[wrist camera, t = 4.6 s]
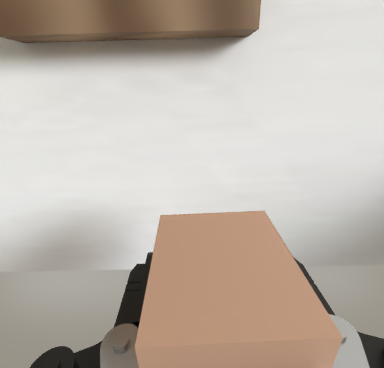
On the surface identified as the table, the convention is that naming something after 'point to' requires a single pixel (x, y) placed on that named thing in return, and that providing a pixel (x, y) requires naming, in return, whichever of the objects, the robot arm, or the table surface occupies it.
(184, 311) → the stacking block
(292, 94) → the table surface
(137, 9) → the walnut base
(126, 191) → the table surface
